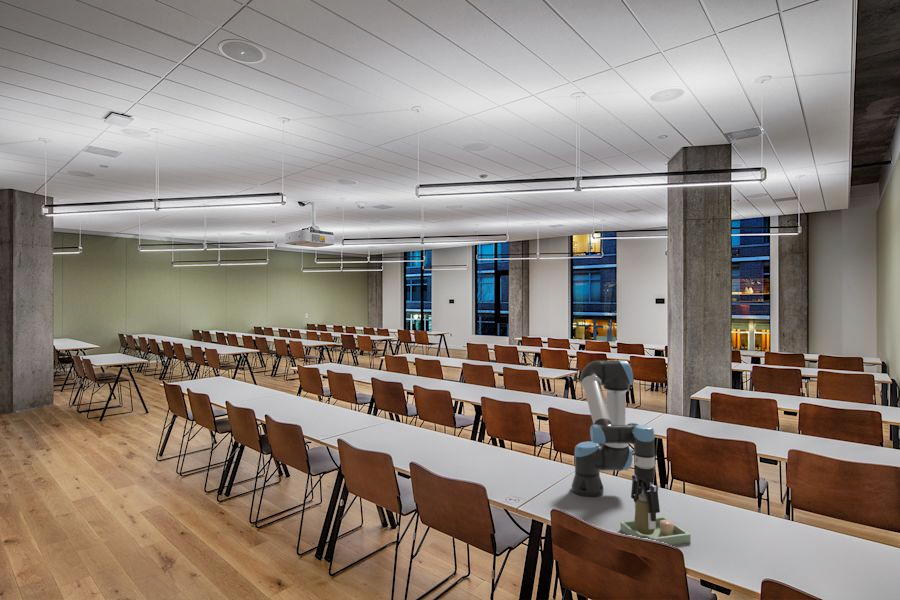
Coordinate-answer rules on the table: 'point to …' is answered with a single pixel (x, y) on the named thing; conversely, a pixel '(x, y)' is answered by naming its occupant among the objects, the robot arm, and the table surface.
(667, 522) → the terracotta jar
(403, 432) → the table surface
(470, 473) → the table surface
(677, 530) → the tray
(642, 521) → the squeeze bottle
